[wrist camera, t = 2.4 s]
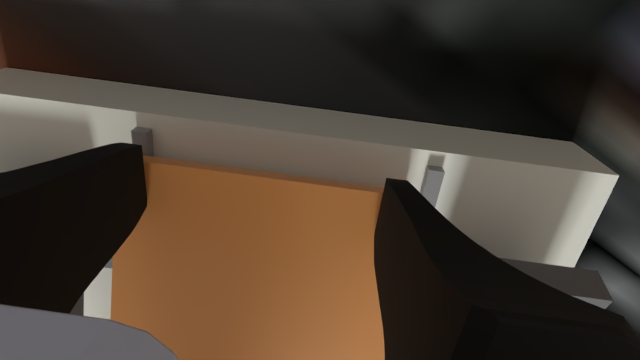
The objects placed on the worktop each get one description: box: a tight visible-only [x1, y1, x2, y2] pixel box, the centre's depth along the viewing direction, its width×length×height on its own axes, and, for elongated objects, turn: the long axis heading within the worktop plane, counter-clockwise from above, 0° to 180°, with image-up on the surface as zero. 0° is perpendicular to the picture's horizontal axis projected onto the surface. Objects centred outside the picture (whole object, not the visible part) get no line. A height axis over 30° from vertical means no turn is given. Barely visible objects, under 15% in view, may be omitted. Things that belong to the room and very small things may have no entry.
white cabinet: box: [0, 68, 619, 319], centre depth 16 cm, size 10×22×4 cm, turn 83°
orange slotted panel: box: [110, 155, 385, 360], centre depth 13 cm, size 8×9×1 cm
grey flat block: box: [498, 257, 613, 309], centre depth 13 cm, size 6×4×1 cm
